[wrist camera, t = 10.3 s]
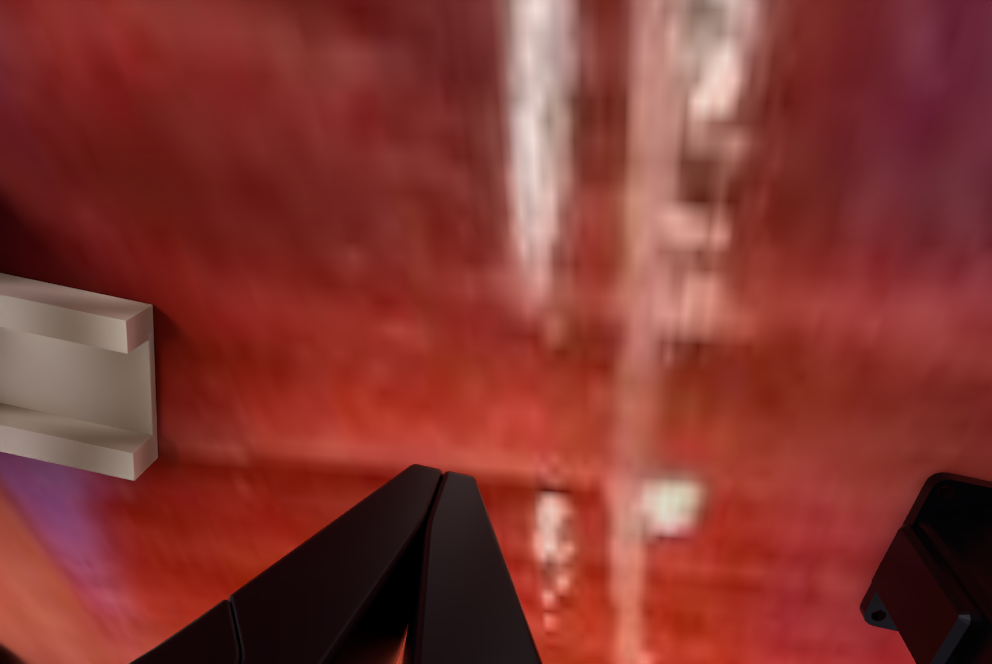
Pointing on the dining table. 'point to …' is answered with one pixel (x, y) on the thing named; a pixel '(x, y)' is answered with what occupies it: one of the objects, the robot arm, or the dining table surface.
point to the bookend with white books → (77, 378)
